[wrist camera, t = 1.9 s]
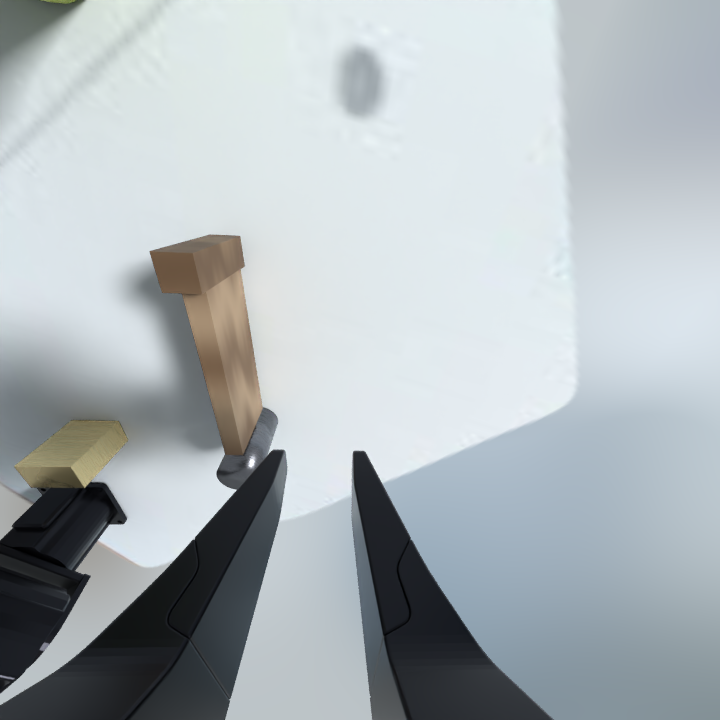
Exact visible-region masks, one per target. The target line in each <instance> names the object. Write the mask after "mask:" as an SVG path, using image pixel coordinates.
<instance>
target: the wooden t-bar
mask: <svg viewBox="0 0 720 720" xmlns="http://www.w3.org/2000/svg"><path fill="white" fill-rule="evenodd" d="M150 255H151V258H152V261H153V265H154V268H155V271H156V274H157V278H158V281H159V284H160V287H161V291H162V293H182V296H183V299H184V303H185V307H186V310H187V314H188V318H189V321H190V325H191V329H192V333H193V336H194V340H195V344H196V347H197V351H198V355H199V359H200V362H201V366H202V370H203V373H204V377H205V381H206V385H207V388H208V392H209V396H210V399H211V403H212V407H213V410H214V414H215V418H216V422H217V425H218V429H219V433H220V436H221V440H222V444H223V448H224V451H225V455H243V454H244V452H245V449H246V447H247V445H248V442H249V440H250V438H251V435H252V433H253V430H254V428H255V426H256V423H257V421H258V418H259V416H260V414H261V411H262V409H263V408H262V401H261V395H260V389H259V383H258V376H257V370H256V364H255V358H254V351H253V345H252V339H251V332H250V326H249V320H248V314H247V307H246V301H245V295H244V289H243V282H242V276H241V270H240V269H241V268H243V267H244V266H245V265H244V259H243V252H242V245H241V239H240V236H229V235H207V236H203V237H200V238H196V239H192V240H189V241H185V242H182V243H178V244H174V245H171V246H167V247H163V248H160V249H156V250H153V251H150Z"/></svg>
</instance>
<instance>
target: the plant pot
mask: <svg viewBox="0 0 720 720" xmlns="http://www.w3.org/2000/svg"><path fill="white" fill-rule="evenodd" d="M41 1H47V2H54V3H64V4H66V3H71V2H74V1H77V0H41Z"/></svg>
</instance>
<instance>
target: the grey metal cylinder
mask: <svg viewBox="0 0 720 720" xmlns="http://www.w3.org/2000/svg"><path fill="white" fill-rule="evenodd" d="M262 408H263V407H262ZM277 424H278V419H277V416H276V415H275V414H274V413H273V412H272V411H271V410H269V409H267V408H263V409H262V411H261V414H260V416H259V418H258V421H257V423H256V426H255V428H254V430H253V433H252V435H251V438H250V440H249V442H248V445H247V447H246V449H245V452H244V454H243V455H225V456H224V458H223V460H222V462H221V464H220V466H219V468H218V470H217V478H218V480H219V481H220V482H221V483H222V484H223V485H225V486H227V487H229V488H232V489H236V490H237V489H238V488H239V487H240V486H241V485H242V484H243V483H244V482H245V480H246V479H247V478H248V477H249V476H250V475H251V474H252V472H253V471H254V470H255V469H256V468H257V467H258V466H259V465H260V463H261V462H262V461H263V460H264V459H265V458H266V457H267V455H268V452H269V449H270V446H271V443H272V440H273V437H274V433H275V430H276V427H277Z"/></svg>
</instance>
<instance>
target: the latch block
mask: <svg viewBox="0 0 720 720" xmlns="http://www.w3.org/2000/svg"><path fill="white" fill-rule="evenodd" d="M127 441H128V439H127V437H126V435H125V433H124V431H123V429H122V427H121V425H120V423H119V421H91V420H71V421H70V422H69V423H68V424H66V425H65V426H64V427H63V428H61V429H60V430H59V431H58V432H56V433H55V434H54V435H53V436H51V437H50V438H49V439H48V440H46V441H45V442H44V443H43V444H41V445H40V446H39V447H38V448H36V449H35V450H34V451H33V452H31V453H30V454H29V455H28V456H26V457H25V458H24V459H23V460H21V461H20V462H19V463H18V464H16V465H15V466H14V467H15V468H16V470H17V471H18V472H19V473H20V475H21V476H22V477H23V478H24V479H25V481H26V482H27V483H28V484H29V486H30V487H31V488H85V487H86V486H87V485H88V484H89V483H90V482H91V481H92V479H93V478H94V477H95V476H96V475H97V474H98V473H99V472H100V471H101V470H102V469H103V467H104V466H105V465H106V464H107V463H108V462H109V461H110V460H111V459H112V458H113V457H114V455H115V454H116V453H117V452H118V451H119V450H120V449H121V448H122V447H123V446H124V444H125V443H126V442H127Z"/></svg>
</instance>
